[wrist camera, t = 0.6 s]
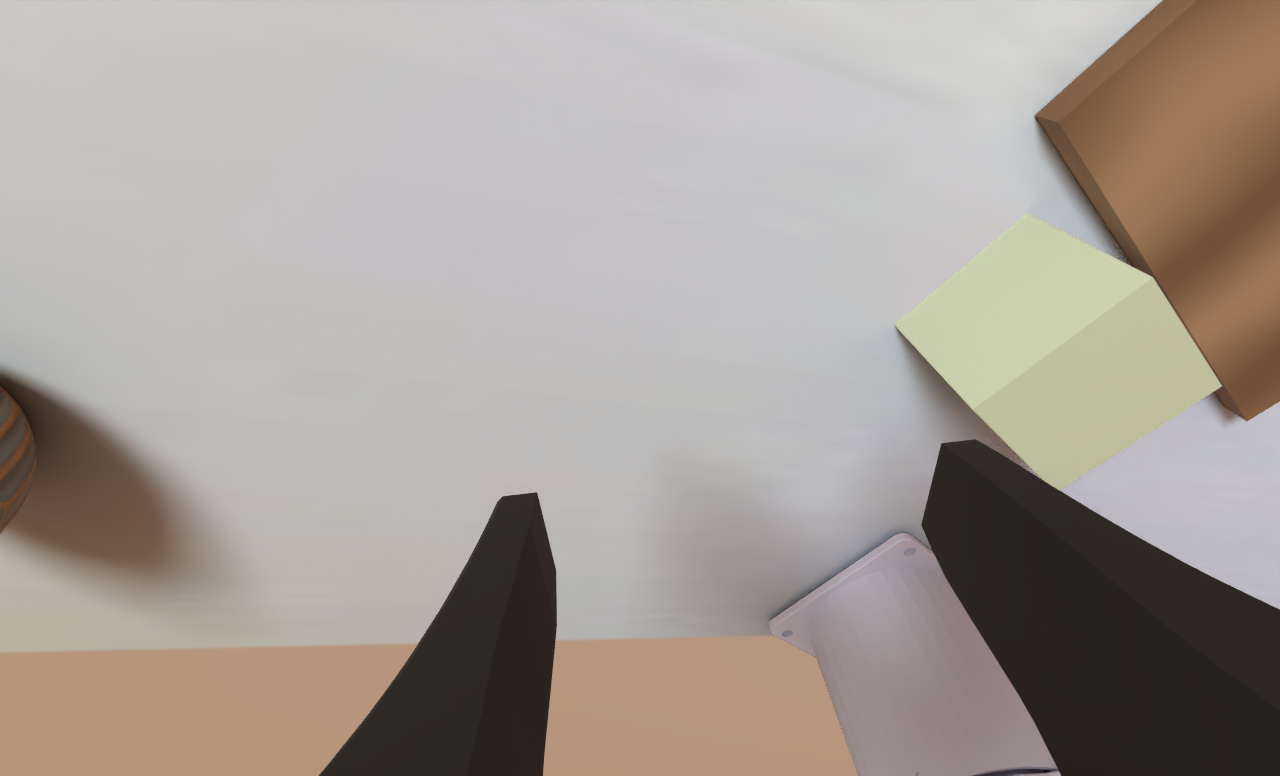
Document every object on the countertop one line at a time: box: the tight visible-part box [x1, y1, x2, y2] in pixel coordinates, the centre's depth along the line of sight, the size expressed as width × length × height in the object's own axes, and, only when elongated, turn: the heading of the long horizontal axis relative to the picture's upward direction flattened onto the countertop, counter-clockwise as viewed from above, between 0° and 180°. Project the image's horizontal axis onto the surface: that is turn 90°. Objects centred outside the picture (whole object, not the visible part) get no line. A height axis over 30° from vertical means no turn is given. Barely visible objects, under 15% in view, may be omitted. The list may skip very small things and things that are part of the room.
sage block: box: [894, 213, 1222, 490], centre depth 19 cm, size 5×5×5 cm
